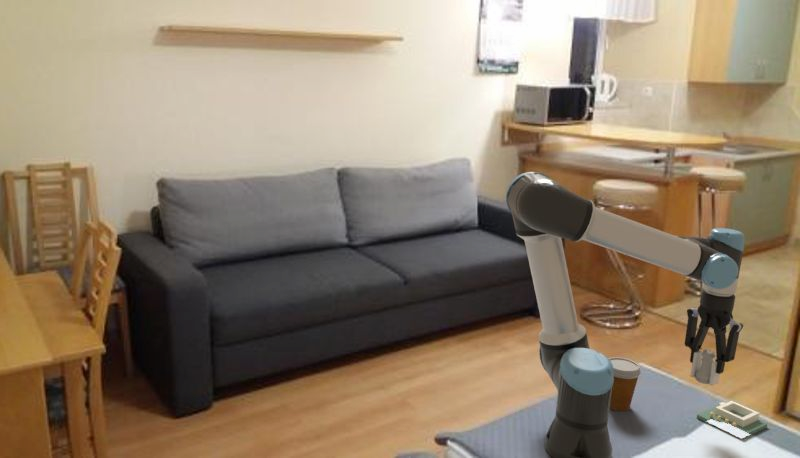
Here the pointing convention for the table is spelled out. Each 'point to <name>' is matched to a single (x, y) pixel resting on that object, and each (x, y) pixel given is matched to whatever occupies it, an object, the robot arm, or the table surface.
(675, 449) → the table surface
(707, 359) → the rook chess piece
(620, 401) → the disposable coffee cup
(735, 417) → the board
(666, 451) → the table surface
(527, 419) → the table surface
